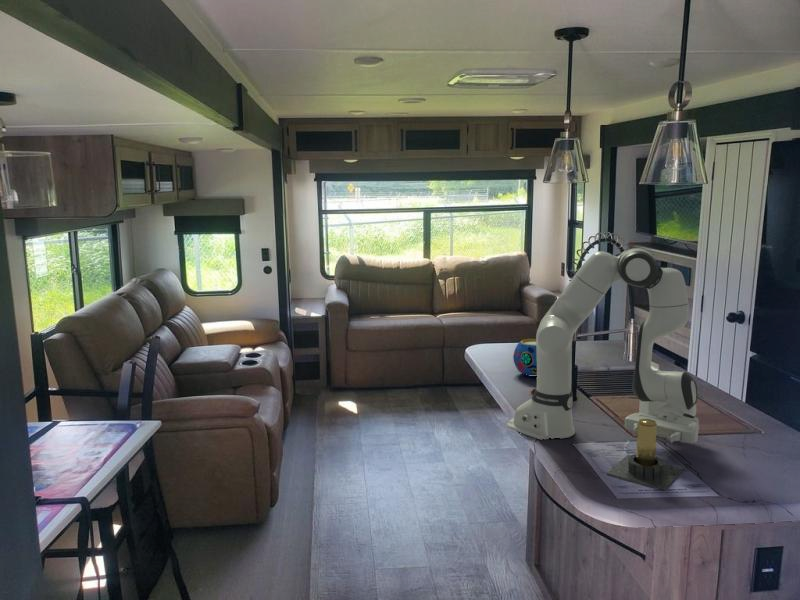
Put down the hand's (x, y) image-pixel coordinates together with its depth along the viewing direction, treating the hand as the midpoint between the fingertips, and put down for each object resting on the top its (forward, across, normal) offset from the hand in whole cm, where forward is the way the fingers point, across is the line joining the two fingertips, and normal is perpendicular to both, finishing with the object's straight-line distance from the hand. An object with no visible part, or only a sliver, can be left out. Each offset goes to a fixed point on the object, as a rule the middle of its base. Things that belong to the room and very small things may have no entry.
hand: (651, 435), depth 183 cm
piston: (+4, 0, +9) cm, 10 cm away
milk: (-33, -11, +10) cm, 36 cm away
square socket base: (+4, 0, +10) cm, 11 cm away
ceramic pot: (-62, -72, +10) cm, 95 cm away
